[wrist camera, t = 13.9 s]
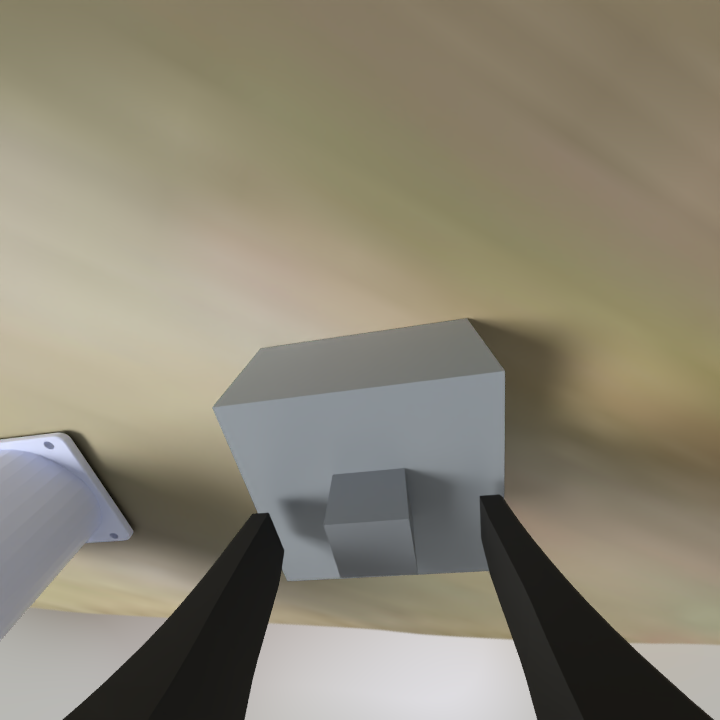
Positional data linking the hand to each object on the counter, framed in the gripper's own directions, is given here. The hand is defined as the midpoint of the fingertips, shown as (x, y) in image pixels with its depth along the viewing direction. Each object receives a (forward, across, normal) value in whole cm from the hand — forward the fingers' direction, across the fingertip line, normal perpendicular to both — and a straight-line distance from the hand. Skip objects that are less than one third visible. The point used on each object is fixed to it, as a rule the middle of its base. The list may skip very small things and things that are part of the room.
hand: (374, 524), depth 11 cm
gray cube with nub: (+6, 0, 0) cm, 6 cm away
